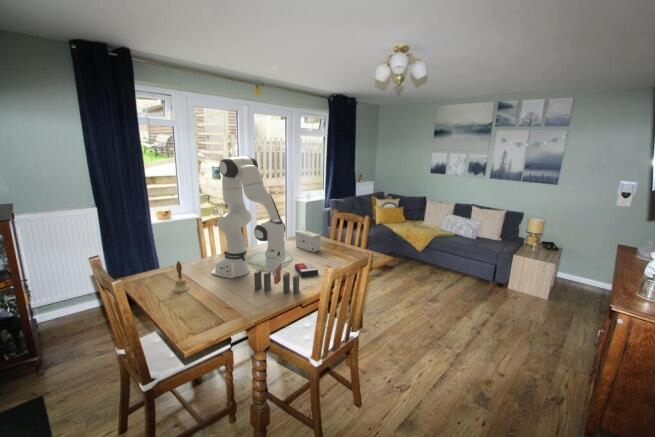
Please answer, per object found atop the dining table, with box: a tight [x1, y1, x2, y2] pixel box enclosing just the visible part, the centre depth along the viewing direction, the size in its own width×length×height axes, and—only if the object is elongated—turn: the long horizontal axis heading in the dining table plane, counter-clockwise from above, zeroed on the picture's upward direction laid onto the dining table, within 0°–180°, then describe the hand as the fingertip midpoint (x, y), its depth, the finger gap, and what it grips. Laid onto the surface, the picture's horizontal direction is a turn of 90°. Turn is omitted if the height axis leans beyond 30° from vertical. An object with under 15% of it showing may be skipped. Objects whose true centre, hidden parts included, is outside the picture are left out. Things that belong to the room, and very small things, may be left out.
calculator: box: [294, 262, 319, 278], centre depth 195 cm, size 11×4×15 cm
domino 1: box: [253, 269, 263, 291], centre depth 171 cm, size 2×5×10 cm, turn 169°
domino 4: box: [282, 271, 291, 294], centre depth 168 cm, size 2×5×10 cm, turn 169°
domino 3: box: [273, 266, 282, 285], centre depth 167 cm, size 2×5×10 cm, turn 169°
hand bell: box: [172, 260, 191, 293], centre depth 167 cm, size 8×8×16 cm
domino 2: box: [263, 270, 272, 292], centre depth 170 cm, size 2×5×10 cm, turn 169°
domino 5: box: [292, 272, 300, 295], centre depth 167 cm, size 2×5×10 cm, turn 169°
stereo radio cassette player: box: [295, 227, 322, 253], centre depth 236 cm, size 21×8×20 cm, turn 48°
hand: (277, 273), depth 167 cm, fingers closed on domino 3, 5 cm apart
